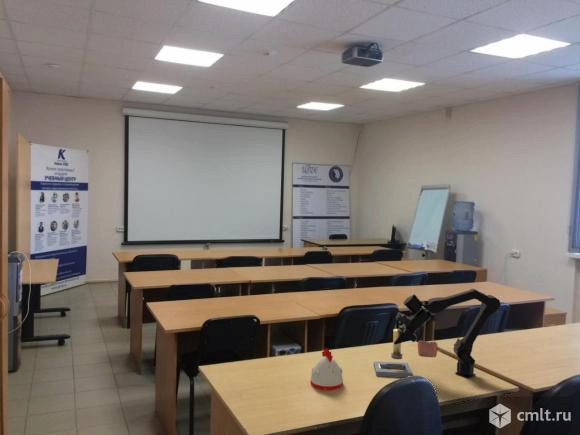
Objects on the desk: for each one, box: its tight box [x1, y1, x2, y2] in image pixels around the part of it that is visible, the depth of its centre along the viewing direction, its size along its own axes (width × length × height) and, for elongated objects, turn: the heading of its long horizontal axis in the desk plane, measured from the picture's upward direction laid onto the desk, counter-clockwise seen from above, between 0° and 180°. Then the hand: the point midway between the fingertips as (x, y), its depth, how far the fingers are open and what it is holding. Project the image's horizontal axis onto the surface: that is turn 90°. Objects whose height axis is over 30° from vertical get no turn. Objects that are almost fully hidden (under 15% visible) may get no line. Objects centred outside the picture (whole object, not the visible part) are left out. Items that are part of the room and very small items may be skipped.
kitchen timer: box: [310, 348, 344, 391], centre depth 195 cm, size 14×14×15 cm
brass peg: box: [390, 328, 403, 360], centre depth 210 cm, size 5×5×13 cm
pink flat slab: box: [417, 339, 438, 358], centre depth 243 cm, size 27×10×2 cm, turn 163°
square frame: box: [373, 360, 413, 378], centre depth 210 cm, size 16×13×2 cm
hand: (394, 342), depth 210 cm, fingers closed on brass peg, 3 cm apart
